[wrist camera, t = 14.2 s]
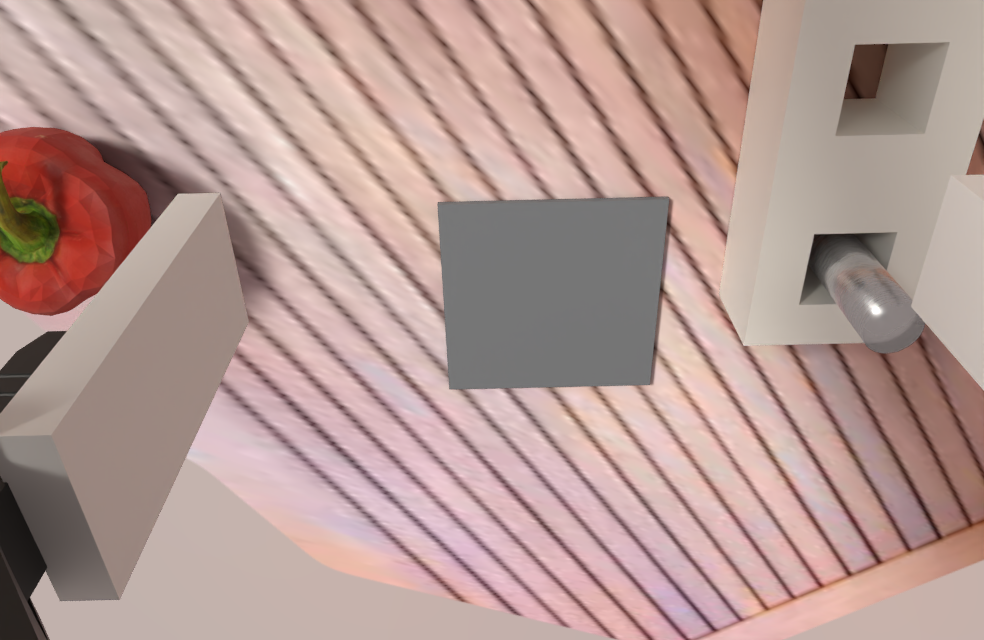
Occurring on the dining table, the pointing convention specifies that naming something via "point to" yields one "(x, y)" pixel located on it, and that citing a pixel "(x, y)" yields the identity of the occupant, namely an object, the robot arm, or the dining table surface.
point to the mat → (551, 290)
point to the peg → (865, 292)
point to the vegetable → (62, 219)
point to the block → (846, 153)
